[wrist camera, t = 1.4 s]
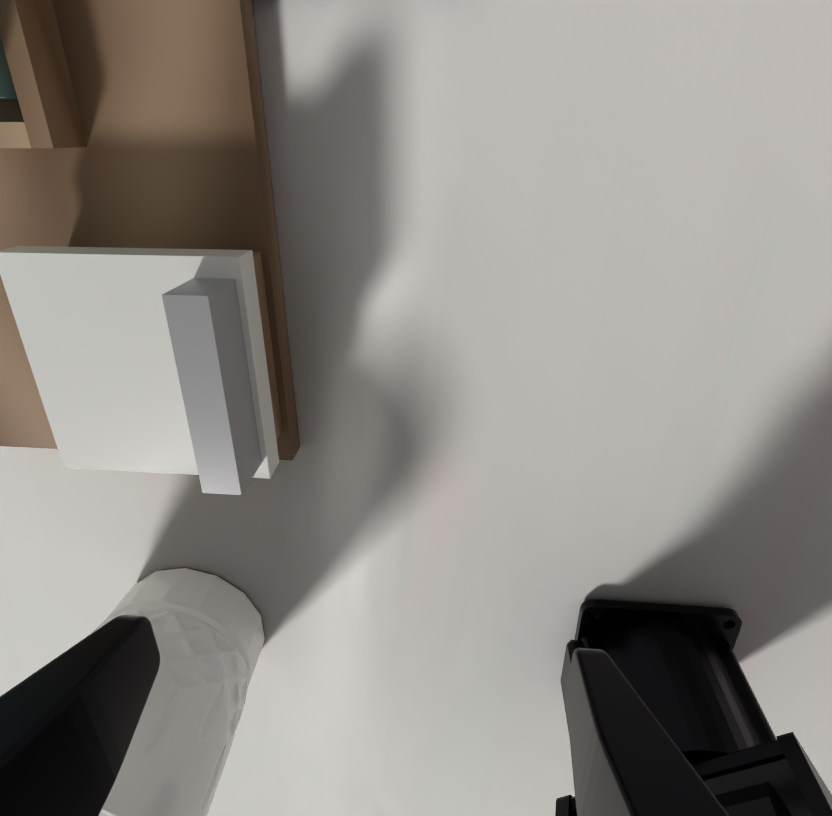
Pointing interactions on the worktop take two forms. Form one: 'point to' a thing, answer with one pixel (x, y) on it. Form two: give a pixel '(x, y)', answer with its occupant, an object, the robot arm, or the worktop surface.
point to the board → (136, 158)
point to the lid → (148, 359)
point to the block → (6, 78)
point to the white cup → (187, 692)
